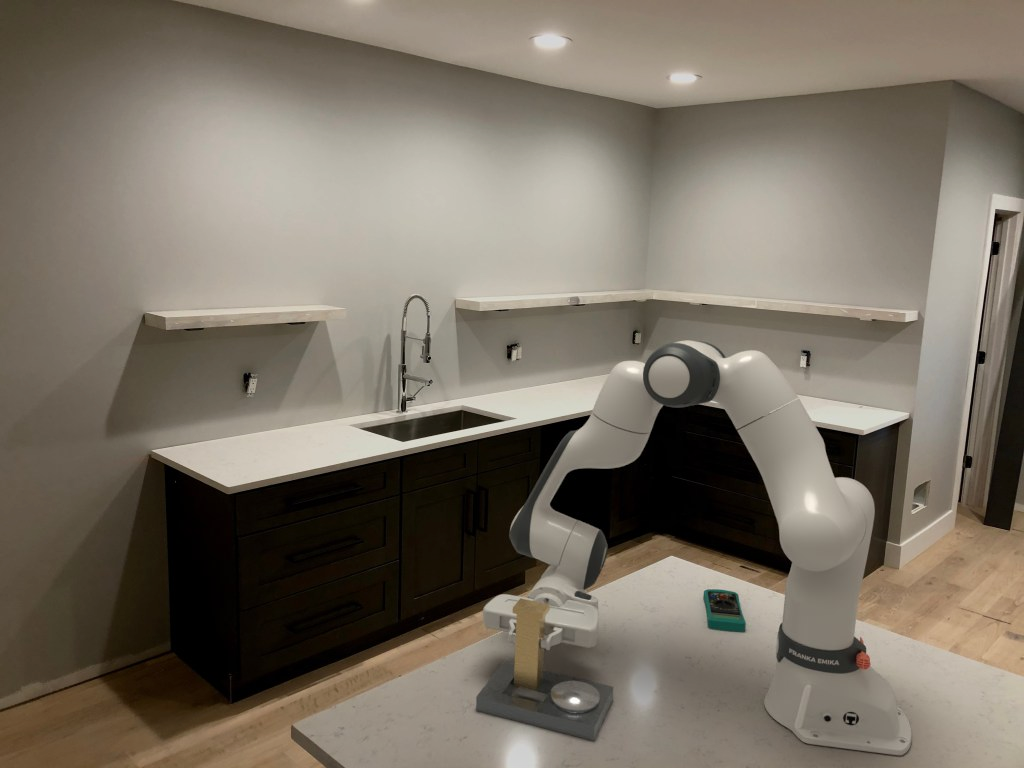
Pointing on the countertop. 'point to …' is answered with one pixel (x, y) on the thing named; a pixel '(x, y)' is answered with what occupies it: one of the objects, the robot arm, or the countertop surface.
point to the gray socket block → (549, 702)
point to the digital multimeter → (723, 610)
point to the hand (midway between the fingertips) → (528, 642)
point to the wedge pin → (529, 643)
